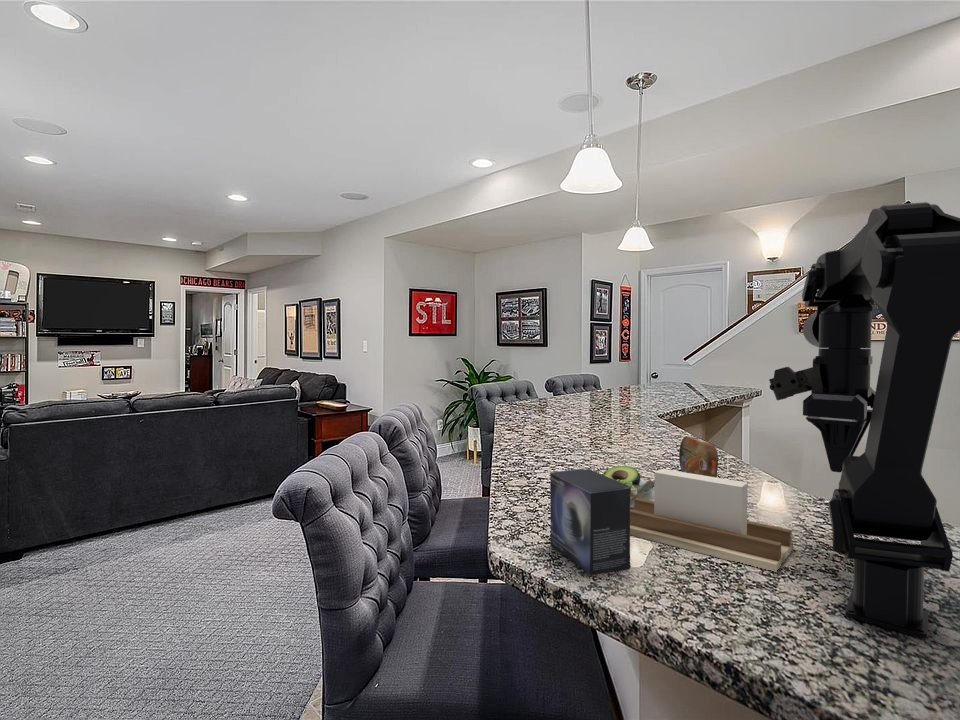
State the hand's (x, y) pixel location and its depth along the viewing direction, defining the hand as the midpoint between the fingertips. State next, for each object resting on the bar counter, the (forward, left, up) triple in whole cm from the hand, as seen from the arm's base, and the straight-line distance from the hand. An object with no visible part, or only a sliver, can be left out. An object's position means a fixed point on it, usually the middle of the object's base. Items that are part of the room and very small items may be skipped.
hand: (841, 465), depth 70 cm
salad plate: (+5, +36, -13) cm, 38 cm away
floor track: (-7, +16, -12) cm, 21 cm away
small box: (-23, +25, -12) cm, 36 cm away
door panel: (-7, +16, -11) cm, 21 cm away
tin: (+28, +28, -12) cm, 41 cm away
